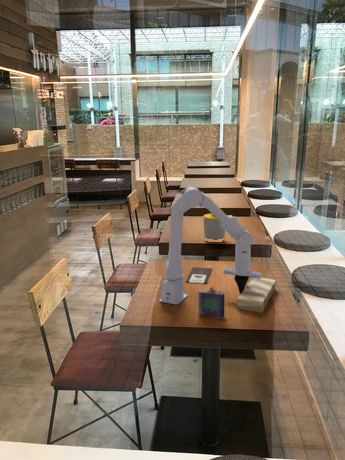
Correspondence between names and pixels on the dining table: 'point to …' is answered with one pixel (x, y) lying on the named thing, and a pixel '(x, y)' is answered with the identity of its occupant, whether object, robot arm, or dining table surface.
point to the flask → (211, 303)
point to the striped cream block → (256, 294)
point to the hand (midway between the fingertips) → (241, 293)
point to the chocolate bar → (199, 275)
